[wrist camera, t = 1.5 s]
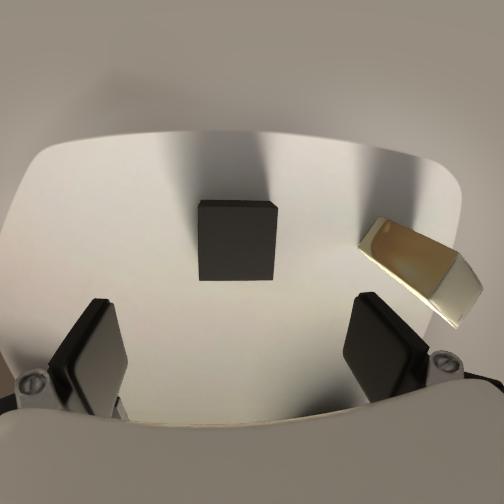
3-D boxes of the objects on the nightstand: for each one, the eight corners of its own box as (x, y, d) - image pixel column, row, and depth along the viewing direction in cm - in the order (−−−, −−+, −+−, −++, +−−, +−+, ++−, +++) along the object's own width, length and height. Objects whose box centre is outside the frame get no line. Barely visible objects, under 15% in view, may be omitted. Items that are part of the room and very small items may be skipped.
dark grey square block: (201, 265, 26) (199, 281, 23) (200, 199, 24) (197, 206, 21) (266, 265, 27) (273, 280, 24) (270, 201, 25) (278, 207, 22)
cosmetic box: (410, 245, 28) (486, 289, 17) (389, 275, 29) (458, 331, 18) (377, 212, 26) (461, 250, 15) (354, 246, 27) (427, 302, 16)
